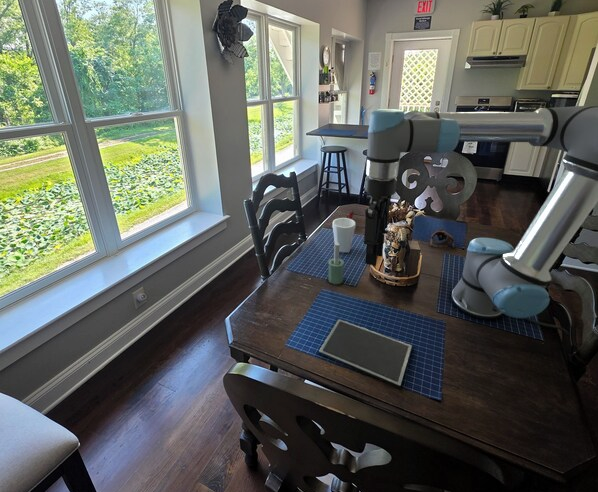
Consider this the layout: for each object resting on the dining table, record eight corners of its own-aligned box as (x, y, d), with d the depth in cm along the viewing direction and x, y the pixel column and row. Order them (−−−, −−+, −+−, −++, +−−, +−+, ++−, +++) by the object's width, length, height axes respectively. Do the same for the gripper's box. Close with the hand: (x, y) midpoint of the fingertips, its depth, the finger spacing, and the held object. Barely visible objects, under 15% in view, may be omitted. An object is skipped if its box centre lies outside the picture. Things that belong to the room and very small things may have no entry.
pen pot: (345, 278, 120) (346, 260, 116) (339, 286, 115) (340, 267, 112) (331, 274, 122) (332, 256, 119) (325, 282, 118) (326, 263, 115)
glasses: (351, 217, 169) (351, 208, 167) (382, 223, 162) (383, 214, 160) (341, 228, 158) (342, 219, 156) (374, 235, 151) (375, 225, 149)
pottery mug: (459, 253, 136) (454, 240, 131) (436, 259, 139) (431, 247, 135) (450, 233, 145) (445, 221, 141) (429, 240, 148) (424, 228, 144)
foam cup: (357, 247, 140) (358, 221, 135) (348, 257, 133) (349, 229, 128) (337, 242, 145) (338, 216, 140) (328, 251, 138) (328, 224, 133)
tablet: (411, 348, 89) (412, 344, 89) (400, 388, 78) (400, 385, 78) (338, 321, 99) (338, 318, 99) (318, 353, 88) (318, 350, 88)
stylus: (338, 278, 119) (340, 243, 113) (337, 281, 117) (338, 245, 111) (334, 277, 120) (335, 242, 114) (332, 280, 118) (333, 244, 112)
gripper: (377, 165, 86) (371, 242, 95) (352, 184, 72) (348, 272, 81) (406, 169, 82) (396, 248, 91) (385, 190, 68) (377, 280, 78)
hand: (374, 259), depth 86 cm, fingers open, 5 cm apart
